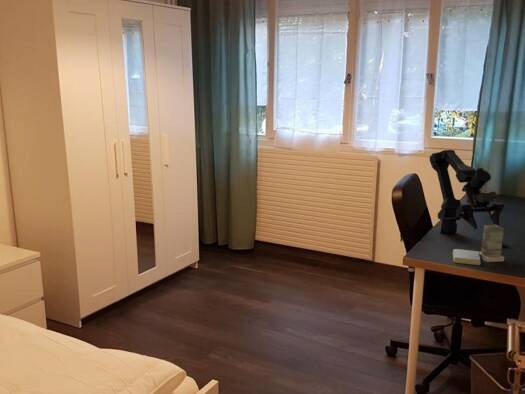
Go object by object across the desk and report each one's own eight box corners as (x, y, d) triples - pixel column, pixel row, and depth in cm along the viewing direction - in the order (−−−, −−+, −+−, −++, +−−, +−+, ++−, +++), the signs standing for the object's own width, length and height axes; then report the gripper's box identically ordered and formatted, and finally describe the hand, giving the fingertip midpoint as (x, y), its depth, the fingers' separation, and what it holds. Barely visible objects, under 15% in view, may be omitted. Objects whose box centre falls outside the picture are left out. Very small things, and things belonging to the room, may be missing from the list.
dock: (453, 262, 188) (454, 257, 187) (452, 253, 197) (453, 248, 197) (480, 265, 185) (480, 260, 184) (477, 256, 194) (478, 251, 194)
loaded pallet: (476, 255, 195) (480, 224, 192) (493, 254, 196) (496, 223, 193) (487, 262, 188) (490, 229, 185) (503, 261, 189) (507, 229, 186)
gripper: (462, 185, 193) (475, 219, 185) (505, 183, 196) (520, 217, 188) (450, 199, 203) (461, 233, 195) (491, 198, 205) (504, 231, 197)
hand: (487, 228), depth 193 cm, fingers open, 9 cm apart
